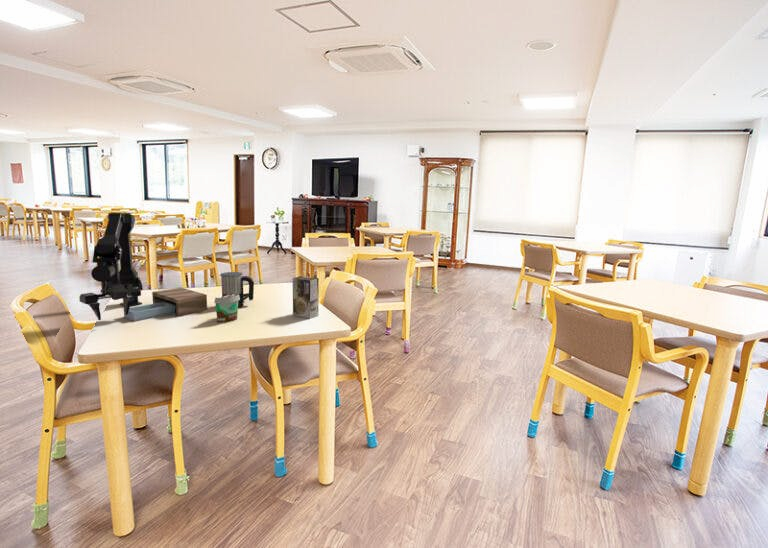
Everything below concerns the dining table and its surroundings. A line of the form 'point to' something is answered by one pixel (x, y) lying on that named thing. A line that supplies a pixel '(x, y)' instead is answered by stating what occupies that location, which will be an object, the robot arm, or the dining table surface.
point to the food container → (227, 307)
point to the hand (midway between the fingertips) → (113, 317)
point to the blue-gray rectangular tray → (150, 311)
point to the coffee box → (305, 296)
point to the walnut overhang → (182, 300)
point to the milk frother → (236, 285)
